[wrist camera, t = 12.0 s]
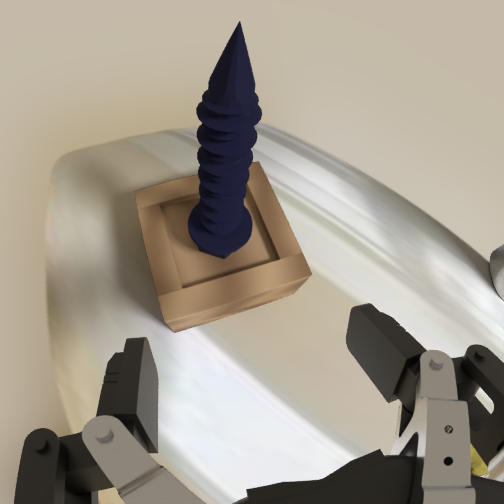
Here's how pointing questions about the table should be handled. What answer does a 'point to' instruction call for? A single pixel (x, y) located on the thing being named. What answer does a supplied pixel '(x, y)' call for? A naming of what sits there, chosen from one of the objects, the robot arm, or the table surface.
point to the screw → (226, 153)
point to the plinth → (211, 267)
